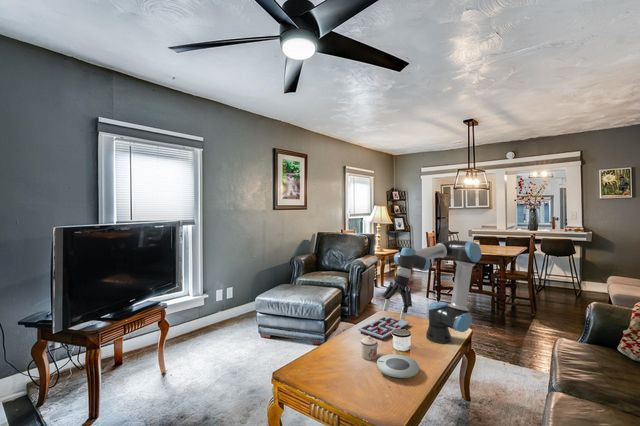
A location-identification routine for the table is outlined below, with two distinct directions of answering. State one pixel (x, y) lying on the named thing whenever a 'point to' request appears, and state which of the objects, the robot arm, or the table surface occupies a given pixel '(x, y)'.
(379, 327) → the maze game
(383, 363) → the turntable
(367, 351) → the teacup with lid
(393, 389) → the table surface
